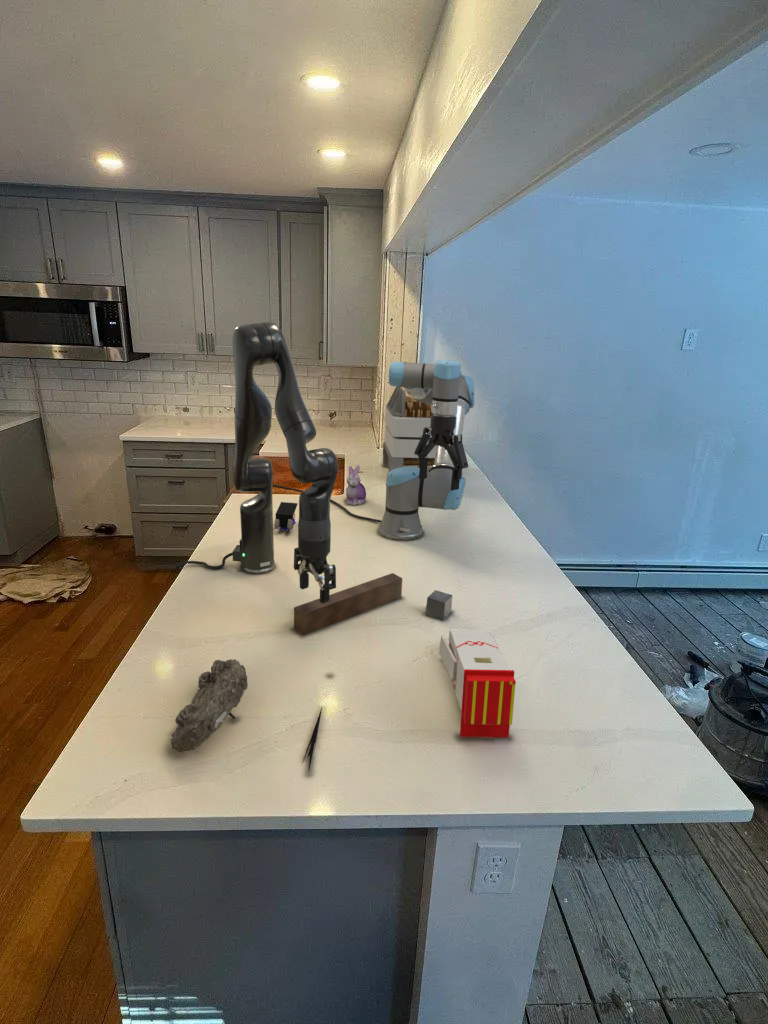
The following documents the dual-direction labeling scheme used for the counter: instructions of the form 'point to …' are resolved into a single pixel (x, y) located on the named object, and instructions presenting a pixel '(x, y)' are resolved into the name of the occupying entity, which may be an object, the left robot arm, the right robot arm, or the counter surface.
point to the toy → (479, 682)
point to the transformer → (405, 430)
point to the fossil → (210, 704)
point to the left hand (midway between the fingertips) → (314, 595)
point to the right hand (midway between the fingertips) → (438, 484)
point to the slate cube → (439, 604)
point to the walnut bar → (347, 603)
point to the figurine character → (285, 516)
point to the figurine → (355, 488)
